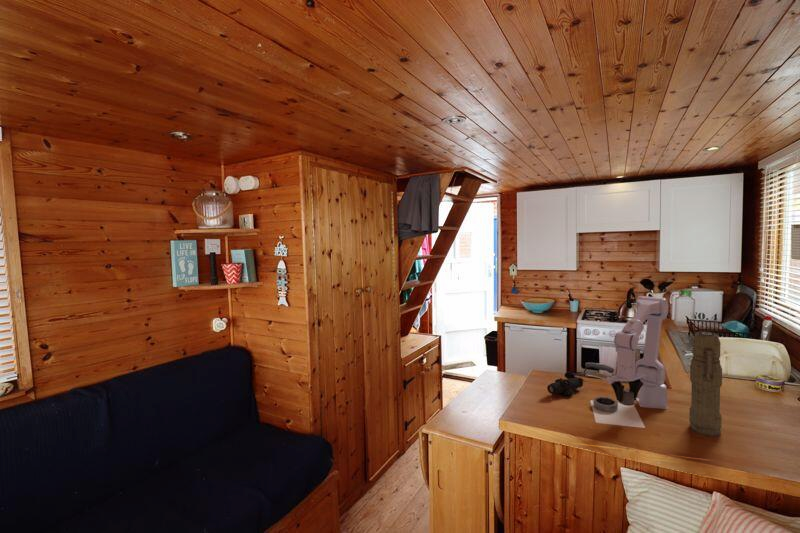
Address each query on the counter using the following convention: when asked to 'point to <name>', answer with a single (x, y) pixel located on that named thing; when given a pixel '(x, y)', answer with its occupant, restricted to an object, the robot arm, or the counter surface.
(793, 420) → the counter surface
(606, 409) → the grey bowl
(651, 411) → the counter surface
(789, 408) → the counter surface
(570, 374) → the night vision scope
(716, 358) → the brown tall rounded block
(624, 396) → the cap
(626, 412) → the mat
